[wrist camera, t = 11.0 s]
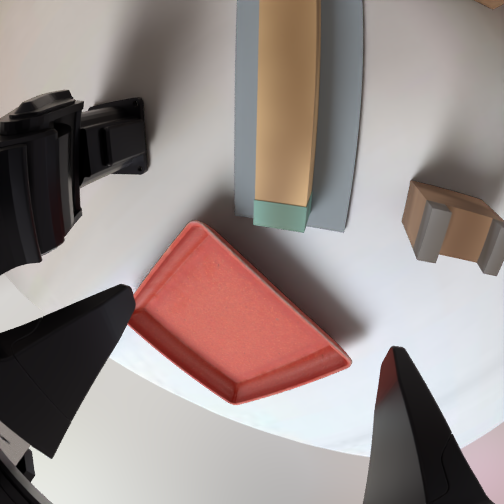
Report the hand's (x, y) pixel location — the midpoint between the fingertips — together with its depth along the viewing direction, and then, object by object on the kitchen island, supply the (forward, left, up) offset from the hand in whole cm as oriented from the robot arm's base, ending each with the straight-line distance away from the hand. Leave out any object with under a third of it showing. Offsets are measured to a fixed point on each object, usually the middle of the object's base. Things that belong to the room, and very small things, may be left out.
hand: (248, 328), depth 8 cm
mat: (-1, +10, -12) cm, 16 cm away
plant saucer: (-6, -14, -13) cm, 20 cm away
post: (+10, +1, -12) cm, 16 cm away
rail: (-1, +10, -12) cm, 16 cm away
